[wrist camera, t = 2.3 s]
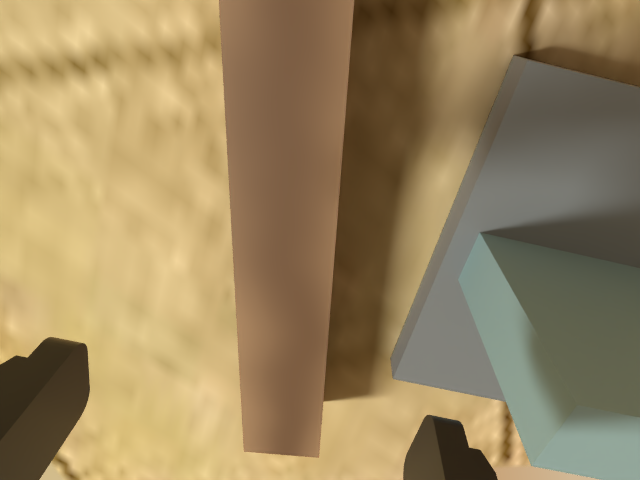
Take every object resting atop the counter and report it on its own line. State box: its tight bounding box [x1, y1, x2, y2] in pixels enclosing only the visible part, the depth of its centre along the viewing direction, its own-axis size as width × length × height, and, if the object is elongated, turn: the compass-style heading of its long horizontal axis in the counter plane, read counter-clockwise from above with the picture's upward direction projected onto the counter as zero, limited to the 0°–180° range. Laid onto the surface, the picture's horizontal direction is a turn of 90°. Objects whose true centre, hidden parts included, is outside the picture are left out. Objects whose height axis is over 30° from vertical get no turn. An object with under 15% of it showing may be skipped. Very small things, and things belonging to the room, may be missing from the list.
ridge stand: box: [390, 55, 640, 480], centre depth 16 cm, size 12×16×10 cm
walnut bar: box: [219, 0, 354, 458], centre depth 19 cm, size 4×26×4 cm, turn 177°
